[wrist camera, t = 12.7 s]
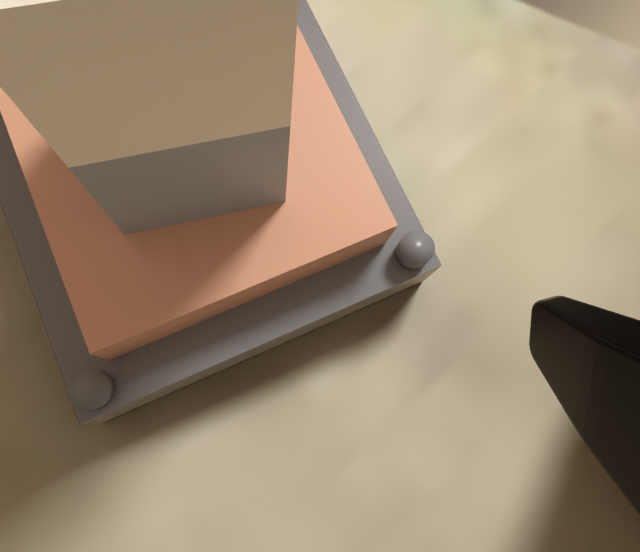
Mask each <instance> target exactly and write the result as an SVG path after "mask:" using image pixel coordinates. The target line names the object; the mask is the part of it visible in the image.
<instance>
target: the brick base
mask: <svg viewBox="0 0 640 552" xmlns="http://www.w3.org/2000/svg"><path fill="white" fill-rule="evenodd" d="M0 202H1V205H2V207H3V210H4V213H5V216H6V219H7V222H8V224H9V227H10V230H11V233H12V236H13V238H14V241H15V244H16V247H17V250H18V253H19V255H20V258H21V261H22V264H23V267H24V269H25V272H26V275H27V278H28V281H29V284H30V286H31V289H32V292H33V295H34V298H35V300H36V303H37V306H38V309H39V312H40V315H41V317H42V320H43V323H44V326H45V329H46V331H47V334H48V337H49V340H50V343H51V346H52V348H53V351H54V354H55V357H56V360H57V362H58V365H59V368H60V371H61V374H62V377H63V379H64V382H65V385H66V388H67V395H68V398H69V400H70V402H71V403H72V405H73V408H74V410H75V413H76V416H77V419H78V422H79V424H93V423H104V422H106V421H108V420H111V419H113V418H115V417H117V416H120V415H122V414H124V413H126V412H129V411H131V410H133V409H135V408H138V407H140V406H142V405H145V404H147V403H149V402H151V401H154V400H156V399H158V398H160V397H163V396H165V395H167V394H169V393H172V392H174V391H176V390H178V389H181V388H183V387H185V386H187V385H190V384H192V383H194V382H197V381H199V380H201V379H203V378H206V377H208V376H210V375H212V374H215V373H217V372H219V371H221V370H224V369H226V368H228V367H230V366H233V365H235V364H237V363H239V362H242V361H244V360H246V359H249V358H251V357H253V356H255V355H258V354H260V353H262V352H264V351H267V350H269V349H271V348H273V347H276V346H278V345H280V344H282V343H285V342H287V341H289V340H291V339H294V338H296V337H298V336H301V335H303V334H305V333H307V332H310V331H312V330H314V329H316V328H319V327H321V326H323V325H325V324H328V323H330V322H332V321H334V320H337V319H339V318H341V317H343V316H346V315H348V314H350V313H353V312H355V311H357V310H359V309H362V308H364V307H366V306H368V305H371V304H373V303H375V302H377V301H380V300H382V299H384V298H386V297H389V296H391V295H393V294H395V293H398V292H400V291H402V290H405V289H407V288H409V287H411V286H414V285H416V284H418V283H420V282H423V281H424V280H425V279H426V278H427V277H429V276H430V275H431V274H432V273H433V272H434V271H436V270H437V269H438V268H439V267H440V266H441V263H440V261H439V259H438V257H437V255H436V253H435V245H434V242H433V240H432V238H431V237H430V236H429V235H428V234H426V233H425V232H424V230H423V228H422V226H421V224H420V222H419V220H418V218H417V216H416V214H415V212H414V210H413V208H412V206H411V204H410V202H409V200H408V199H407V197H406V195H405V193H404V191H403V189H402V187H401V185H400V183H399V181H398V179H397V177H396V175H395V173H394V171H393V169H392V167H391V165H390V163H389V161H388V159H387V157H386V155H385V154H384V152H383V150H382V148H381V146H380V144H379V142H378V140H377V138H376V136H375V134H374V132H373V130H372V128H371V126H370V124H369V122H368V120H367V118H366V116H365V114H364V112H363V110H362V109H361V107H360V105H359V103H358V101H357V99H356V97H355V95H354V93H353V91H352V89H351V87H350V85H349V83H348V81H347V79H346V77H345V75H344V73H343V71H342V69H341V67H340V65H339V64H338V62H337V60H336V58H335V56H334V54H333V52H332V50H331V48H330V46H329V44H328V42H327V40H326V38H325V36H324V34H323V32H322V30H321V28H320V26H319V24H318V22H317V20H316V18H315V17H314V15H313V13H312V11H311V9H310V7H309V5H308V3H307V1H306V0H299V2H298V18H297V33H296V48H295V64H294V79H293V94H292V109H291V125H290V140H289V155H288V170H287V186H286V201H285V202H281V203H276V204H271V205H266V206H261V207H257V208H252V209H247V210H242V211H237V212H232V213H228V214H223V215H218V216H213V217H208V218H204V219H199V220H194V221H189V222H184V223H179V224H175V225H170V226H165V227H160V228H155V229H151V230H146V231H141V232H136V233H131V234H126V235H124V234H123V232H122V231H121V230H120V229H119V228H118V227H117V225H116V224H115V223H114V222H113V221H112V219H111V218H110V217H109V216H108V215H107V213H106V212H105V211H104V210H103V209H102V207H101V206H100V205H99V204H98V203H97V201H96V200H95V199H94V198H93V197H92V195H91V194H90V193H89V192H88V191H87V190H86V188H85V187H84V186H83V185H82V184H81V182H80V181H79V180H78V179H77V178H76V176H75V175H74V174H73V173H72V172H71V170H70V169H69V168H68V167H67V166H66V164H65V163H64V162H63V161H62V160H61V159H60V157H59V156H58V155H57V154H56V153H55V151H54V150H53V149H52V148H51V147H50V145H49V144H48V143H47V142H46V141H45V139H44V138H43V137H42V136H41V135H40V133H39V132H38V131H37V130H36V129H35V127H34V126H33V125H32V124H31V123H30V122H29V120H28V119H27V118H26V117H25V116H24V114H23V113H22V112H21V111H20V110H19V108H18V107H17V106H16V105H15V104H14V102H13V101H12V100H11V99H10V98H9V96H8V95H7V94H6V93H5V92H4V91H3V89H2V88H1V87H0Z"/></svg>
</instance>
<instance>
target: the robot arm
mask: <svg viewBox="0 0 640 552" xmlns="http://www.w3.org/2000/svg"><path fill="white" fill-rule="evenodd" d="M529 345H530V351H531V354H532V356H533V359H534V360H535V362H536V364H537V365H538V367H539V369H540V370H541V372H542V374H543V375H544V377H545V379H546V380H547V382H548V384H549V385H550V387H551V389H552V390H553V392H554V394H555V395H556V397H557V399H558V400H559V402H560V404H561V405H562V407H563V409H564V410H565V412H566V414H567V415H568V417H569V419H570V420H571V422H572V424H573V425H574V427H575V428H576V430H577V432H578V433H579V435H580V436H581V438H582V439H583V441H584V442H585V443H586V445H587V446H588V448H589V449H590V450H591V452H592V453H593V454H594V456H595V457H596V458H597V460H598V461H599V462H600V464H601V465H602V466H603V468H604V469H605V470H606V472H607V473H608V474H609V476H610V477H611V478H612V480H613V481H614V482H615V484H616V485H617V486H618V488H619V489H620V490H621V492H622V493H623V494H624V496H625V497H626V498H627V499H628V501H629V502H630V503H631V505H632V506H633V507H634V509H635V510H636V511H637V513H638V514H639V515H640V320H637V319H634V318H630V317H627V316H624V315H621V314H618V313H615V312H612V311H608V310H605V309H602V308H599V307H596V306H593V305H589V304H586V303H583V302H580V301H577V300H574V299H570V298H567V297H564V296H554V297H550V298H546V299H543V300H539V301H537V302H536V303H535V304H534V305H533V307H532V314H531V327H530V341H529Z"/></svg>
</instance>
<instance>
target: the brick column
mask: <svg viewBox="0 0 640 552" xmlns="http://www.w3.org/2000/svg"><path fill="white" fill-rule="evenodd" d="M298 2H299V0H0V87H1V88H2V89H3V91H4V92H5V93H6V94H7V95H8V96H9V98H10V99H11V100H12V101H13V102H14V104H15V105H16V106H17V107H18V108H19V110H20V111H21V112H22V113H23V114H24V116H25V117H26V118H27V119H28V120H29V122H30V123H31V124H32V125H33V126H34V127H35V129H36V130H37V131H38V132H39V133H40V135H41V136H42V137H43V138H44V139H45V141H46V142H47V143H48V144H49V145H50V147H51V148H52V149H53V150H54V151H55V153H56V154H57V155H58V156H59V157H60V159H61V160H62V161H63V162H64V163H65V164H66V166H67V167H68V168H69V169H70V170H71V172H72V173H73V174H74V175H75V176H76V178H77V179H78V180H79V181H80V182H81V184H82V185H83V186H84V187H85V188H86V190H87V191H88V192H89V193H90V194H91V195H92V197H93V198H94V199H95V200H96V201H97V203H98V204H99V205H100V206H101V207H102V209H103V210H104V211H105V212H106V213H107V215H108V216H109V217H110V218H111V219H112V221H113V222H114V223H115V224H116V225H117V227H118V228H119V229H120V230H121V231H122V232H123V234H124V235H126V234H131V233H136V232H141V231H146V230H151V229H155V228H160V227H165V226H170V225H175V224H179V223H184V222H189V221H194V220H199V219H204V218H208V217H213V216H218V215H223V214H228V213H232V212H237V211H242V210H247V209H252V208H257V207H261V206H266V205H271V204H276V203H281V202H285V201H286V186H287V170H288V155H289V140H290V125H291V109H292V94H293V79H294V64H295V48H296V33H297V18H298Z"/></svg>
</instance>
